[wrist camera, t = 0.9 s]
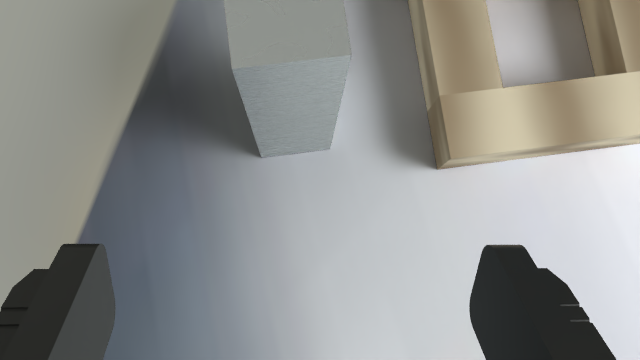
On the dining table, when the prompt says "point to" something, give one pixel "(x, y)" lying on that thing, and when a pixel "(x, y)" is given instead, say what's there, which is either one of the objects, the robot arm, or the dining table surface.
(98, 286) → the robot arm
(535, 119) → the well block
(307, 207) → the dining table surface
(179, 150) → the dining table surface
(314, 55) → the plain gray rectangular block
